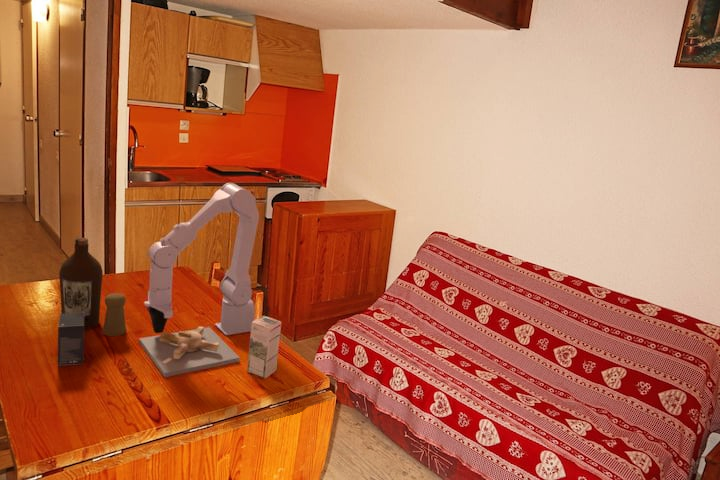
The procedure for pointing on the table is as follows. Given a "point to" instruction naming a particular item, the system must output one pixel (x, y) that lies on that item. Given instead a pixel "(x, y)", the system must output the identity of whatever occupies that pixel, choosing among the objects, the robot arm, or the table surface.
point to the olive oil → (81, 284)
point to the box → (71, 339)
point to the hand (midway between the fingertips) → (158, 331)
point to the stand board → (187, 355)
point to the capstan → (189, 341)
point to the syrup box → (264, 346)
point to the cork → (114, 315)
